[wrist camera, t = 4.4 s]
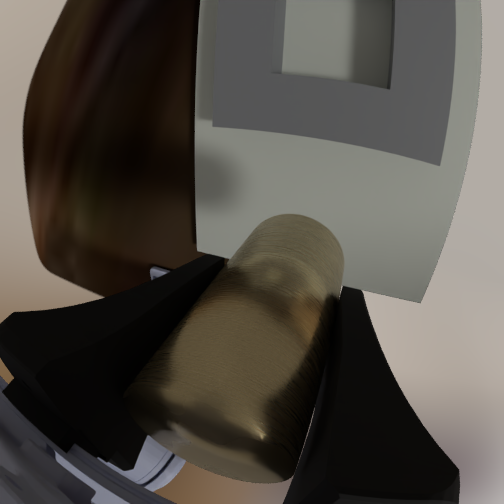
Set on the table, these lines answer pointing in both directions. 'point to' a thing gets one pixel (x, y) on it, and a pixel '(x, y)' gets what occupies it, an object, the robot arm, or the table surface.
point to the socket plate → (333, 171)
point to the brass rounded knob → (247, 356)
